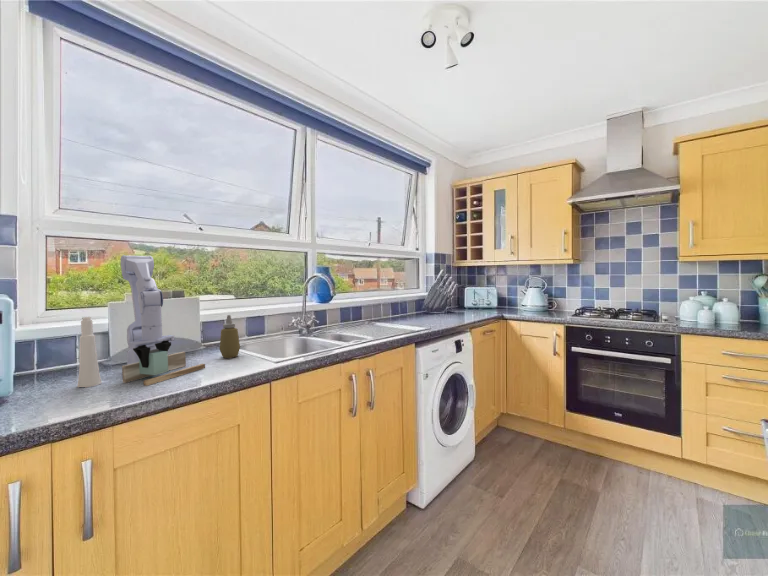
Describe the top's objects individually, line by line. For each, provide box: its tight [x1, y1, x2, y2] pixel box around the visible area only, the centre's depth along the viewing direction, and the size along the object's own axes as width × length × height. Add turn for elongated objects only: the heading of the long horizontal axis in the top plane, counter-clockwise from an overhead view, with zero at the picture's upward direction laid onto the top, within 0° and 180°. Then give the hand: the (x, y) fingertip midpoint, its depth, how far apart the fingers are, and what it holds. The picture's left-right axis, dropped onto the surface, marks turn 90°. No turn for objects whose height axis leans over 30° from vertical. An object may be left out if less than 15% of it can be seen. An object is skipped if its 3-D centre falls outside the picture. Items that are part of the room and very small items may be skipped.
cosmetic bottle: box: [76, 316, 103, 388], centre depth 109 cm, size 6×6×22 cm
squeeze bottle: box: [219, 314, 241, 359], centre depth 145 cm, size 8×8×18 cm
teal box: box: [139, 349, 169, 376], centre depth 116 cm, size 7×5×8 cm
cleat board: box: [121, 351, 206, 387], centre depth 120 cm, size 12×22×6 cm, turn 160°
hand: (153, 365), depth 116 cm, fingers closed on teal box, 5 cm apart
